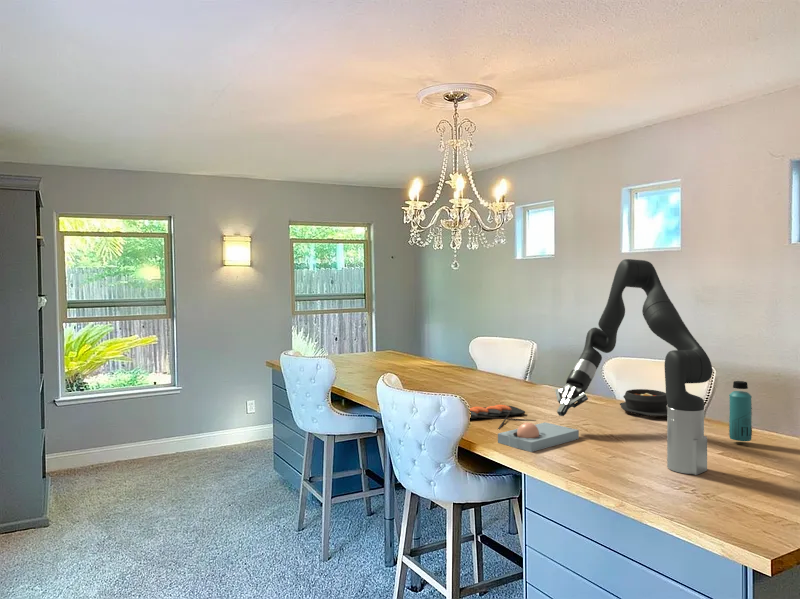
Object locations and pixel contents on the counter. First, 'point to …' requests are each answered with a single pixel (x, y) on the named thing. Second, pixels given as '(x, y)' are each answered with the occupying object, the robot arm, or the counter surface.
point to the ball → (527, 431)
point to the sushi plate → (496, 412)
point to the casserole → (645, 402)
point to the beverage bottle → (740, 413)
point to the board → (547, 437)
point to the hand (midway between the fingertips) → (560, 414)
